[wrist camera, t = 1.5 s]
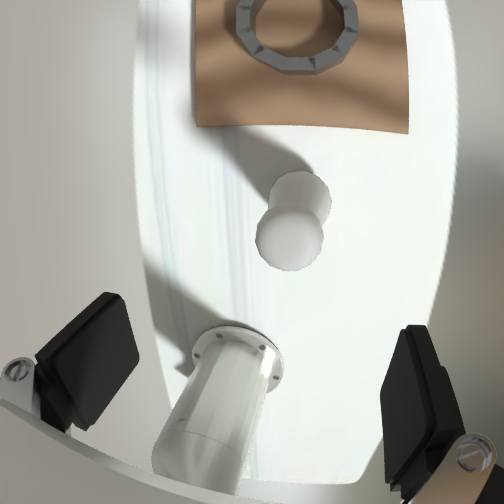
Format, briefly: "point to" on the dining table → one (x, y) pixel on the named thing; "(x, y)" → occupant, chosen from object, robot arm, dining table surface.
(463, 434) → the robot arm
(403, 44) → the board
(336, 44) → the collar
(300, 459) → the dining table surface
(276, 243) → the salt shaker
